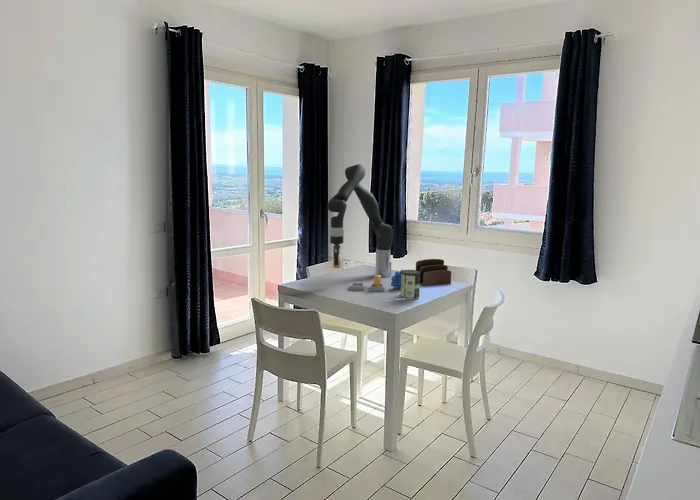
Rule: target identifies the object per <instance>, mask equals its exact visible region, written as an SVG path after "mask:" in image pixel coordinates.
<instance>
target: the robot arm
mask: <svg viewBox="0 0 700 500" xmlns="http://www.w3.org/2000/svg"><path fill="white" fill-rule="evenodd" d="M344 175H345V178H346V180H347V181H346V182H345V183H343V184H342V185H341V186H340V188H339V190H338V191H337V193H336V194H335V195H334V196H333V197H331V198H330V199H329V200H328V201H327V210H328V211H329V212H331V213H338V214H337V215H336V216H335V215H334V216H331V218H330V231H329V232H330V236H329V237H330V239H329V240H330V241H329V243H330V244H333V247H332V250H333V251H332V252H333V254H334V265H335V266H338V259H339V254H340V255H341V245H342V244H344V236H345V235H344V218H345V214H346V210H347V206H348V205H347V202H348V200H349V198H350V196H351V195H352V192H355V195H356V197H357V198H358V201H359V202H360V204H361V206H362V209H363V211H364V212H365V214H366V216H367V218H368V220H369V222H370V224H371V226H372V229H373V232H374V234H375V235H376V237H377V238H379V242H378V243H377V244H376V247H375V270H374V271H375V274H374V275H381V278H387V277H390V276H391V277H392V261H391V251H392V250H391V249H392V245H393V238H394V230H393V227H392V226H391V225H390V224H386V223H384V221H383V220H382V218H381V216H380V211H379V209H380V208H379V204H378V201H377V200H376V198H375V196H374V194H373V193H372V192H370V191H369V190H368V189H367V188H365V187H364V186H363V185H362V184H361V181H362V180H363V179H364V178H365V176H366V169H365V167H364V165H362V164H361V163H360V164H354V165H351V166H348V167H346V168H345V169H344ZM333 254H332V255H333ZM335 255H337V256H335Z"/></svg>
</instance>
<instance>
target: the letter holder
mask: <svg viewBox="0 0 700 500" xmlns="http://www.w3.org/2000/svg"><path fill="white" fill-rule="evenodd" d="M448 268H449V267H448V265H446V264H445V261H444V259H441V258H427V259H421V260H417V261H416V262H415V270H417V271H420V272H421V273H420V285H421V286H433V284H436V285H445V284H447V283H448V284H452V271H451V270H449V269H448Z"/></svg>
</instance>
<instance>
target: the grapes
mask: <svg viewBox="0 0 700 500" xmlns="http://www.w3.org/2000/svg"><path fill="white" fill-rule="evenodd" d="M403 270H404V269H400V271H399V270H398V271H396V272H395V273H394V275H393V276H391V278H390V280H391V282H390V286H391V287H393V290H398V289H399V290H401V276H402V273H401V271H403Z"/></svg>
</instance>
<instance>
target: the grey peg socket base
mask: <svg viewBox="0 0 700 500" xmlns="http://www.w3.org/2000/svg"><path fill="white" fill-rule="evenodd" d="M365 284H366V283H365V282H350V286H349V289H348V291H349V292H365V293H386V287H385V284H384V283H381V287H378V286H374V282H373V283H370V286H365Z"/></svg>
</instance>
